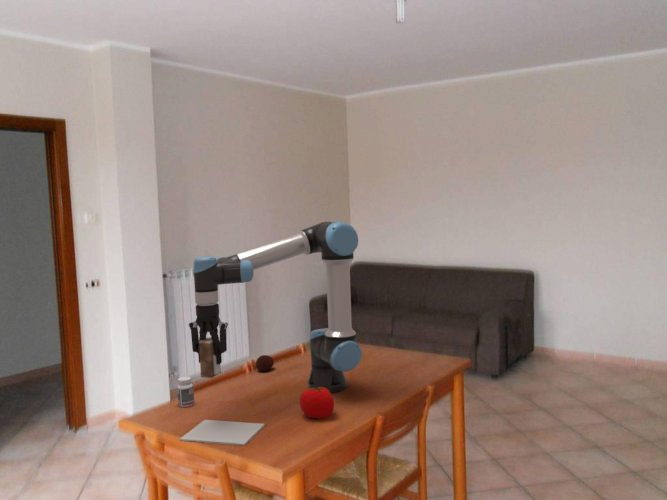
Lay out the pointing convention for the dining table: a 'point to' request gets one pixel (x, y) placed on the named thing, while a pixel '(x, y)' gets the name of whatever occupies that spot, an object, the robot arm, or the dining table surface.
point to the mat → (223, 432)
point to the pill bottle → (185, 392)
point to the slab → (207, 358)
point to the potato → (264, 363)
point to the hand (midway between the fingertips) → (210, 372)
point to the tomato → (317, 402)
